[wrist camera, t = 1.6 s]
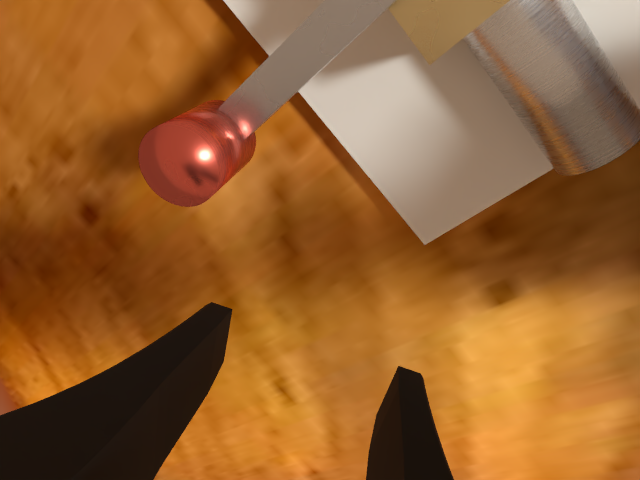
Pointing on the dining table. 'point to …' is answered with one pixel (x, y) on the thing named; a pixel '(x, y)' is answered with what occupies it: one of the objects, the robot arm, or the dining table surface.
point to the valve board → (432, 110)
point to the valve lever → (247, 107)
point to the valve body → (537, 72)
